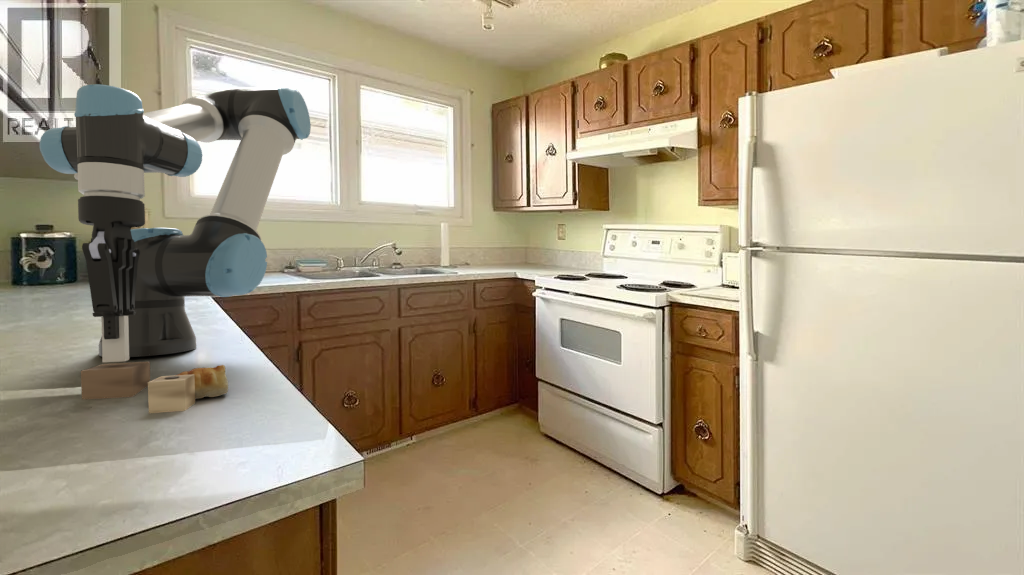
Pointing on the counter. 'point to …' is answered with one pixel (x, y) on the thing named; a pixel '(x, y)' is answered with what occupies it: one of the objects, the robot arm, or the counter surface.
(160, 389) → the beech block
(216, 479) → the counter surface
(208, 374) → the pastry
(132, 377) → the walnut block
